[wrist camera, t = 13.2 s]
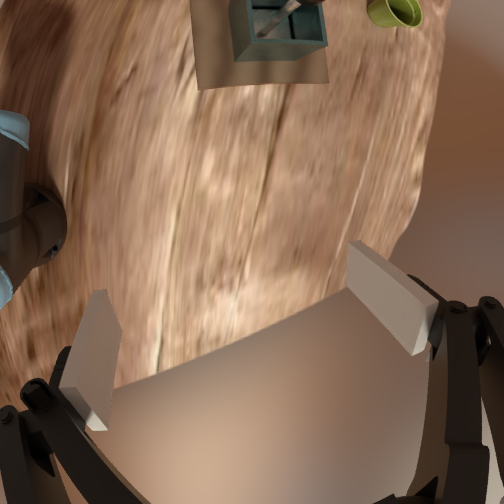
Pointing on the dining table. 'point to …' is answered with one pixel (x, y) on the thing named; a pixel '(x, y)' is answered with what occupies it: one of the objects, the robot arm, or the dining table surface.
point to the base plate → (242, 73)
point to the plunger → (277, 20)
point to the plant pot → (395, 13)
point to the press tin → (251, 49)
